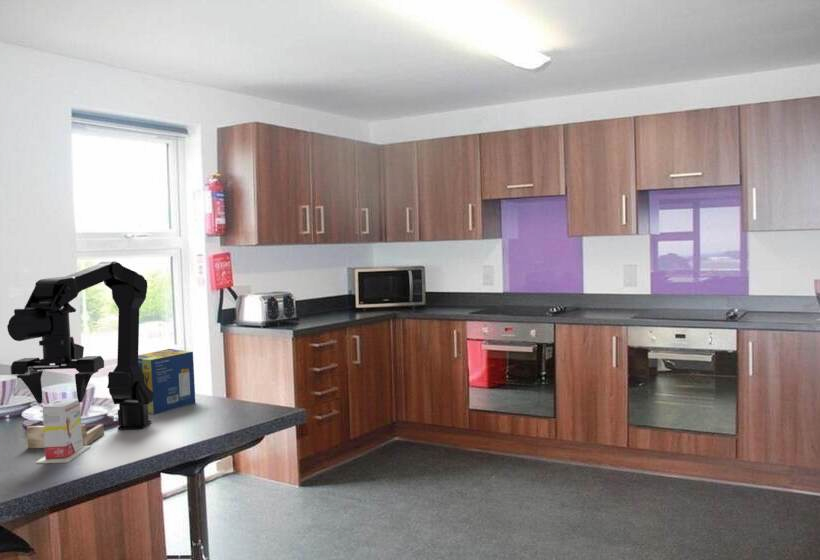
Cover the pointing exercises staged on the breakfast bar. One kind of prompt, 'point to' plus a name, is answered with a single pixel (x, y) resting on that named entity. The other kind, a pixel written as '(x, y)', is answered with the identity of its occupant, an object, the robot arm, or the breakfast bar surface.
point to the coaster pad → (64, 460)
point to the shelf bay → (37, 435)
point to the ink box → (62, 428)
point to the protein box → (168, 378)
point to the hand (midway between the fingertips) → (60, 402)
